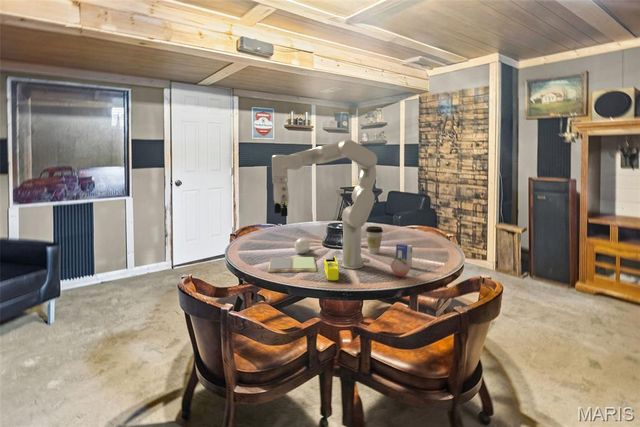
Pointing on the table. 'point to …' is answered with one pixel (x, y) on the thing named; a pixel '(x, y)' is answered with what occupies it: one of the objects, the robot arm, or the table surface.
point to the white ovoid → (302, 245)
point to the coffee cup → (374, 239)
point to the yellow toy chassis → (331, 268)
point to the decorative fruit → (400, 267)
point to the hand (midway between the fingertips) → (280, 214)
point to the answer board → (292, 264)
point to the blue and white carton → (404, 252)
